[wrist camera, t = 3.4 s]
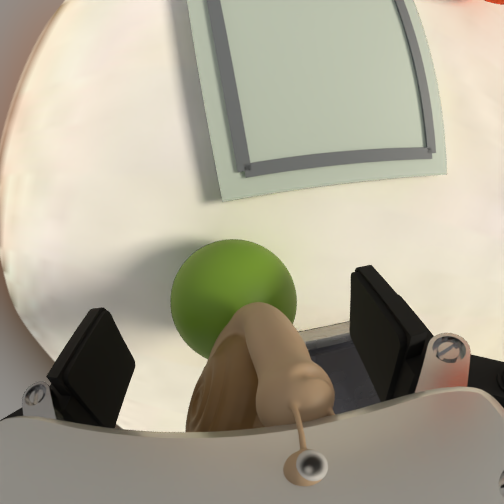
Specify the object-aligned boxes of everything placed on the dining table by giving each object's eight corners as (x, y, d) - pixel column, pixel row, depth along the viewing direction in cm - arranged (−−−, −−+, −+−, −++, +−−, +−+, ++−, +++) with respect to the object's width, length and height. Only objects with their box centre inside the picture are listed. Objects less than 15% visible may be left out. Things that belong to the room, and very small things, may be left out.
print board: (438, 172, 13) (448, 175, 12) (223, 198, 13) (222, 202, 12) (399, -15, 8) (406, -21, 7) (186, -16, 8) (182, -25, 8)
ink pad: (378, 405, 20) (384, 419, 19) (279, 428, 20) (281, 443, 19) (398, 308, 16) (410, 323, 14) (261, 338, 16) (263, 356, 15)
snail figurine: (314, 232, 14) (456, 456, 3) (259, 328, 16) (279, 540, 5) (212, 188, 13) (87, 429, 2) (170, 296, 15) (99, 512, 4)
